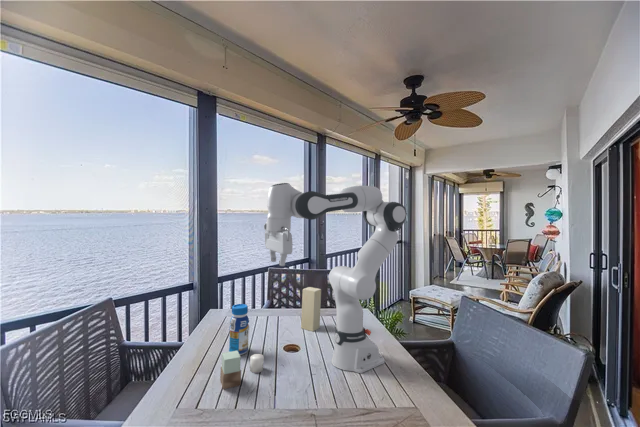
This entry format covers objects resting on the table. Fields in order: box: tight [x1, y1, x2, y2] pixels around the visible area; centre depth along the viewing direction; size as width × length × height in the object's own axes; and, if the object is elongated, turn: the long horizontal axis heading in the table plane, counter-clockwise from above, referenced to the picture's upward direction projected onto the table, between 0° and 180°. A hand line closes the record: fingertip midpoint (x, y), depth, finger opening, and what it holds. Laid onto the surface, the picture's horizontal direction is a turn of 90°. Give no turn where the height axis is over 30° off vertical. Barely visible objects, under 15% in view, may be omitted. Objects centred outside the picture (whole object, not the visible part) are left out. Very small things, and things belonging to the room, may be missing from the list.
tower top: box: [221, 351, 241, 374], centre depth 108 cm, size 6×6×5 cm
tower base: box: [219, 366, 242, 390], centre depth 108 cm, size 6×6×5 cm
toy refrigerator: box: [300, 286, 322, 332], centre depth 161 cm, size 8×7×21 cm
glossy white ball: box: [249, 353, 264, 374], centre depth 117 cm, size 5×5×5 cm
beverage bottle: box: [228, 303, 250, 356], centre depth 132 cm, size 8×8×20 cm
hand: (277, 263), depth 112 cm, fingers open, 8 cm apart
